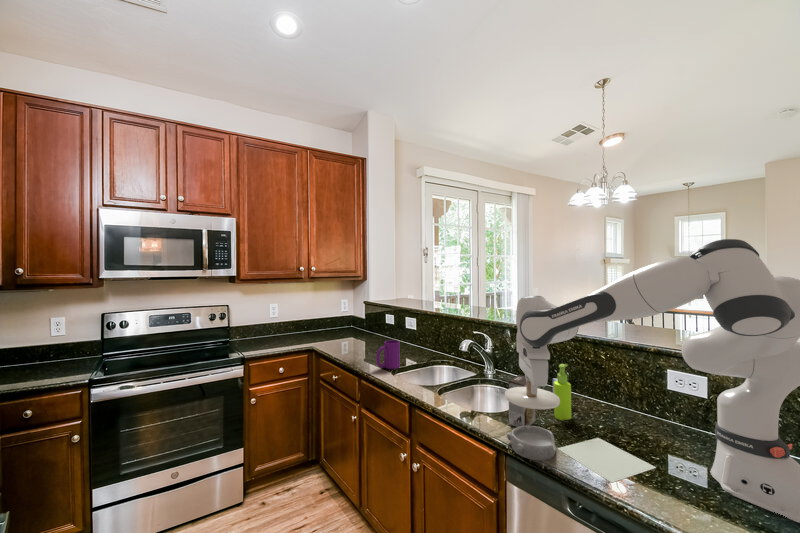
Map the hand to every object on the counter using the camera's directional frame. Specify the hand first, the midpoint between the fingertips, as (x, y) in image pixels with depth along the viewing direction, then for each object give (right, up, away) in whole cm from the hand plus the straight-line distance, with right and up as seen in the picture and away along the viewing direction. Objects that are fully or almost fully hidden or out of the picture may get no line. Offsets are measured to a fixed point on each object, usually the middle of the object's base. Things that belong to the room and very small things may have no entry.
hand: (531, 390), depth 104 cm
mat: (+19, -18, -6) cm, 27 cm away
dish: (0, -19, 0) cm, 19 cm away
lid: (0, -3, 0) cm, 3 cm away
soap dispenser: (+21, -19, +23) cm, 37 cm away
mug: (-49, -20, +88) cm, 103 cm away
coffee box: (+4, -19, +18) cm, 27 cm away
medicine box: (+28, -19, +39) cm, 51 cm away
